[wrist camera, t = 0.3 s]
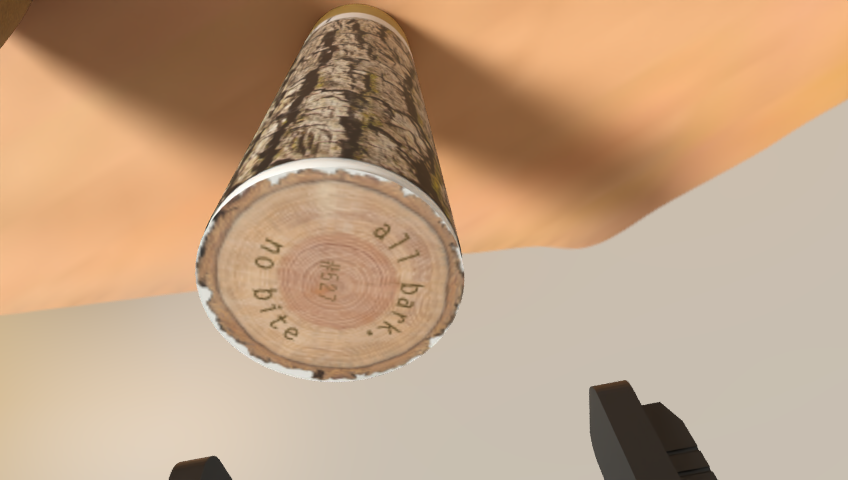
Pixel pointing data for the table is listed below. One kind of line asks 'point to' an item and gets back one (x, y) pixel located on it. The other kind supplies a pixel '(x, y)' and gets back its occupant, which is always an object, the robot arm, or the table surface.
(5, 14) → the plant pot
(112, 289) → the table surface
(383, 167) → the paper tube
